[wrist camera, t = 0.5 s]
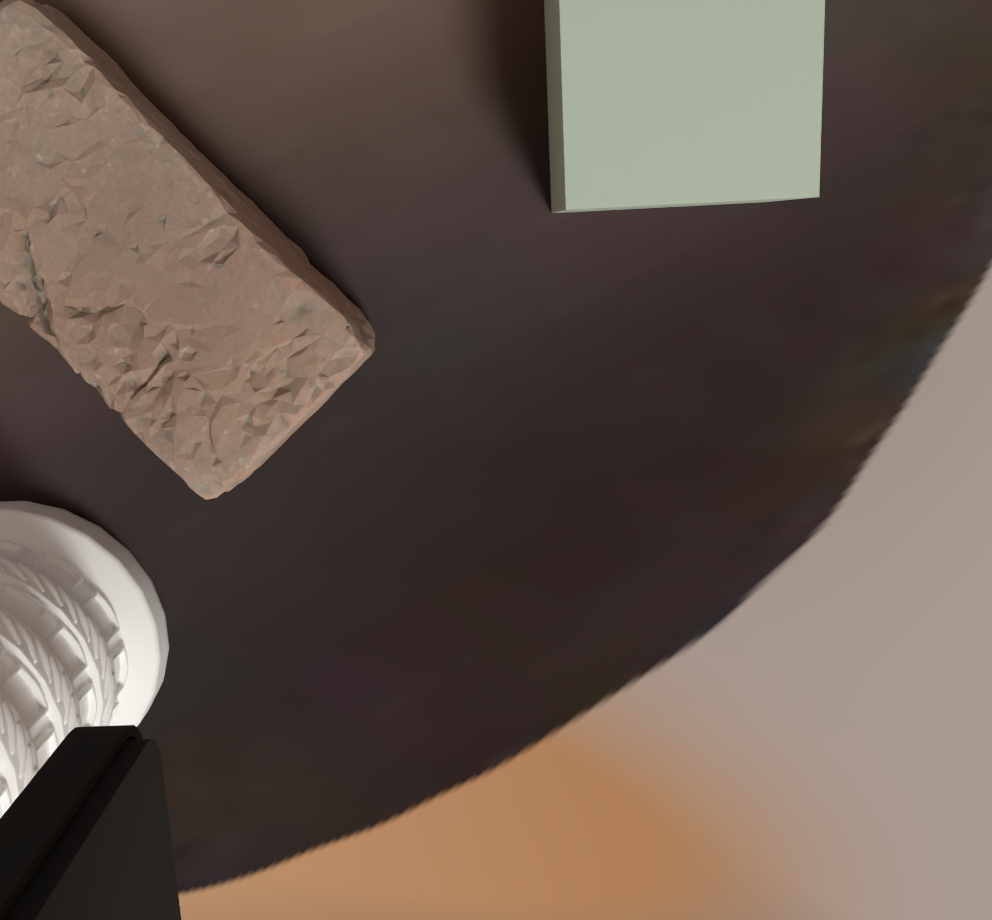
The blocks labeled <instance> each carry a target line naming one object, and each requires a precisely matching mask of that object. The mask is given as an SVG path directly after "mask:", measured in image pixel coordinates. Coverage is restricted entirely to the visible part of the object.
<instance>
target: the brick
mask: <svg viewBox="0 0 992 920" xmlns="http://www.w3.org/2000/svg"><path fill="white" fill-rule="evenodd" d="M0 302H1V303H2V304H4V305H5V306H7V307H8V308H10V309H11V310H13V311H14V312H16V313H18V314H19V315H23V316H28V317H31V318H30V319H29V320H28V322H29V325H30V327H31V328H32V329H33V330H34V331H35V332H36V333H38V334H39V335H40V336H41V337H43V338H44V339H46V340H47V341H48V342H49V343H51V344H52V345H53V346H54V347H55V348H56V349H57V350H58V351H59V353H60V354H61V355H62V356H63V358H64V359H65V360H66V361H67V362H68V363H69V364H70V365H71V367H72V368H73V370H74V371H75V373H80V374H81V375H82V377H83V378H84V380H85V381H86V382H87V383H89V384H91V385H92V386H94V387H96V388H97V389H98V391H99V392H100V394H101V395H102V397H103V399H104V400H105V402H106V403H107V405H108V406H109V408H111V409H114V410H116V411H118V412H120V415H121V417H122V419H123V420H124V422H125V423H126V424H127V426H128V427H129V428H130V429H131V430H132V431H133V432H134V433H135V434H136V435H137V436H138V437H139V438H140V439H141V440H142V441H143V442H144V443H145V444H146V445H147V446H148V448H150V449H151V450H152V451H153V452H154V453H155V454H156V455H157V456H158V457H159V458H160V459H161V460H163V461H164V462H165V463H166V464H167V465H168V466H169V467H170V468H171V469H172V470H173V471H175V472H176V473H177V474H178V475H179V476H180V477H182V478H183V479H184V480H185V482H186V483H187V485H188V486H189V487H190V488H191V489H192V490H193V491H194V492H195V493H197V494H198V495H200V496H201V497H203V498H204V499H205V500H207V499H212V498H217V497H218V496H219V495H220V494H222V493H223V492H226V491H230V490H232V489H233V488H234V487H235V486H236V485H238V484H239V483H241V482H242V481H244V480H245V479H246V478H247V477H249V476H250V475H251V474H252V473H253V472H254V470H256V469H257V468H259V467H260V466H261V465H262V464H263V463H264V462H265V461H266V460H267V459H268V458H269V457H270V456H271V455H272V454H273V453H274V452H275V451H276V450H277V449H278V448H279V447H280V446H281V445H282V444H283V443H284V442H285V441H286V440H287V439H288V438H289V437H290V436H291V435H292V434H293V433H294V432H295V431H296V430H297V429H298V428H299V427H300V426H301V425H302V424H303V423H304V422H305V421H306V420H307V419H308V418H309V417H310V416H312V415H313V414H314V413H315V412H316V411H317V410H318V409H319V408H320V407H321V406H322V405H323V404H324V403H325V402H326V401H327V400H328V399H329V398H330V396H331V395H332V394H333V393H334V392H335V391H336V390H337V389H338V387H339V386H340V385H341V384H342V383H343V382H344V381H345V380H347V379H348V378H349V377H350V376H351V375H352V374H353V373H354V372H355V371H356V370H357V369H358V368H359V367H360V366H361V365H362V364H363V363H364V361H365V360H367V359H368V358H369V357H370V356H371V355H372V353H373V352H374V350H375V347H374V343H375V334H374V331H373V328H372V326H371V324H370V322H369V321H368V320H367V319H366V318H365V316H364V314H363V313H362V311H361V310H360V309H359V308H358V307H357V306H356V305H354V304H353V303H352V302H351V301H350V300H349V299H348V298H347V297H346V296H345V295H344V294H343V293H342V292H341V291H340V290H339V289H338V288H337V287H336V285H335V284H334V283H333V282H332V281H330V280H329V279H327V278H326V277H324V276H323V275H322V274H321V273H320V272H319V271H318V270H316V269H315V268H314V267H313V266H312V265H311V264H310V263H309V261H308V258H307V256H306V255H305V253H304V252H303V251H302V249H301V248H300V247H299V246H298V245H296V244H295V243H294V242H292V241H291V240H290V239H288V238H287V237H286V236H285V235H284V234H283V233H282V232H281V231H280V230H279V228H278V227H277V226H276V225H275V224H274V223H273V222H272V221H271V220H270V219H269V218H268V217H267V216H266V215H265V214H264V213H263V212H262V211H261V210H260V209H259V208H258V207H257V206H256V205H255V204H254V202H253V201H252V200H250V199H249V198H248V197H247V196H246V195H245V194H244V193H243V192H241V191H240V190H239V189H237V188H236V187H235V186H234V185H233V184H232V183H231V182H230V181H229V180H228V178H227V177H226V176H225V175H224V174H223V173H222V172H221V171H220V170H218V169H217V168H216V167H215V166H214V165H213V164H212V163H211V162H210V161H209V160H208V159H207V158H206V157H205V156H204V155H203V154H202V153H201V152H199V151H198V150H197V149H196V148H195V146H194V145H193V144H192V143H191V142H190V141H189V140H188V139H187V138H186V137H185V136H184V135H183V134H182V133H180V132H179V130H178V129H177V128H176V127H175V126H174V124H173V123H172V122H171V121H170V120H169V119H168V118H166V117H165V116H164V115H163V114H162V113H161V112H160V111H159V110H158V109H157V108H156V107H155V106H154V105H153V104H152V103H151V102H150V101H149V100H148V99H147V98H146V97H145V96H144V95H143V94H142V93H141V92H140V90H139V89H138V88H137V87H136V86H135V85H134V84H133V83H132V82H131V80H130V79H129V78H128V77H127V75H126V74H125V73H124V71H123V70H122V69H121V68H120V66H119V65H118V64H117V63H116V62H115V61H114V60H113V59H112V58H111V57H110V56H109V55H108V54H107V53H106V52H104V51H103V50H102V49H101V48H100V47H99V46H97V45H96V44H95V43H94V42H93V41H92V40H91V39H90V38H89V37H88V36H86V35H85V33H84V32H83V31H82V30H80V29H79V28H78V27H77V26H76V25H75V24H74V23H73V22H72V21H71V20H70V19H69V18H68V17H67V16H66V15H65V14H63V13H62V12H60V11H58V10H57V9H55V8H54V7H52V6H49V5H46V4H44V5H41V4H39V3H38V2H36V1H34V0H3V1H2V2H1V3H0Z"/></svg>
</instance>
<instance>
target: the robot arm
mask: <svg viewBox="0 0 992 920" xmlns="http://www.w3.org/2000/svg"><path fill="white" fill-rule="evenodd" d="M0 920H181V914H180V906H179V898H178V890H177V882H176V874H175V866H174V858H173V850H172V841H171V833H170V825H169V817H168V809H167V801H166V793H165V785H164V777H163V769H162V761H161V753H160V748H159V746H158V743H157V741H155V740H154V739H142V735H141V733H140V731H139V729H138V728H137V727H136V726H135V725H119V726H88V727H75V728H74V729H73V730H72V731H70V732H69V733H68V735H67V736H66V737H65V738H64V740H63V741H62V742H61V743H60V745H59V746H58V747H57V748H56V750H55V751H54V752H53V753H52V755H51V756H50V757H49V758H48V760H47V761H46V762H45V763H44V765H43V766H42V767H41V768H40V770H39V771H38V772H37V773H36V775H35V776H34V777H33V778H32V780H31V781H30V782H29V783H28V785H27V786H26V787H25V788H24V790H23V791H22V792H21V793H20V795H19V796H18V797H17V798H16V800H15V801H14V802H13V803H12V804H11V806H10V807H9V808H8V809H7V811H6V812H5V813H4V814H3V816H2V817H1V818H0Z"/></svg>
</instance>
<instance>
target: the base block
mask: <svg viewBox="0 0 992 920" xmlns="http://www.w3.org/2000/svg"><path fill="white" fill-rule="evenodd" d="M544 13H545V42H546V71H547V99H548V128H549V157H550V185H551V213H562V212H582V211H601V210H621V209H640V208H659V207H679V206H698V205H718V204H737V203H757V202H771V201H781V200H792V199H803V198H813V197H819V185H820V151H821V117H822V84H823V50H824V16H825V0H544Z"/></svg>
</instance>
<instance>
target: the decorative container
mask: <svg viewBox="0 0 992 920" xmlns="http://www.w3.org/2000/svg"><path fill="white" fill-rule="evenodd" d="M168 652H169V640H168V632H167V624H166V615H165V612H164V609H163V607H162V604H161V602H160V599H159V597H158V594H157V592H156V589H155V587H154V585H153V582H152V580H151V579H150V577H149V576H148V575H147V573H146V572H145V571H144V569H143V568H142V567H141V565H140V564H139V563H138V561H137V560H136V559H135V557H134V556H133V555H132V553H131V552H130V551H129V550H128V549H127V548H126V547H124V546H123V545H122V544H121V543H120V542H118V541H117V540H116V539H115V538H113V537H112V536H111V535H110V534H109V533H107V532H106V531H105V530H104V529H102V528H101V527H100V526H98V525H96V524H94V523H92V522H90V521H88V520H86V519H84V518H82V517H80V516H77V515H75V514H73V513H71V512H69V511H67V510H65V509H62V508H57V507H52V506H48V505H43V504H39V503H34V502H30V501H1V502H0V818H1V817H2V816H3V814H4V813H5V812H6V811H7V809H8V808H9V807H10V806H11V804H12V803H13V802H14V801H15V800H16V798H17V797H18V796H19V795H20V793H21V792H22V791H23V790H24V788H25V787H26V786H27V785H28V783H29V782H30V781H31V780H32V778H33V777H34V776H35V775H36V773H37V772H38V771H39V770H40V768H41V767H42V766H43V765H44V763H45V762H46V761H47V760H48V758H49V757H50V756H51V755H52V753H53V752H54V751H55V750H56V748H57V747H58V746H59V745H60V743H61V742H62V741H63V740H64V738H65V737H66V736H67V735H68V733H69V732H70V731H72V730H73V729H74V728H75V727H88V726H119V725H135V726H136V727H137V726H138V725H139V723H140V722H141V720H142V719H143V717H144V716H145V715H146V713H147V712H148V710H149V708H150V706H151V704H152V702H153V700H154V698H155V696H156V694H157V692H158V690H159V688H160V686H161V684H162V682H163V680H164V675H165V670H166V664H167V658H168Z"/></svg>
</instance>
